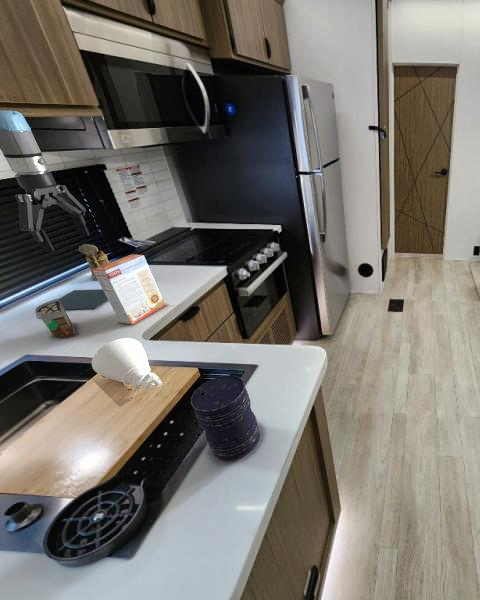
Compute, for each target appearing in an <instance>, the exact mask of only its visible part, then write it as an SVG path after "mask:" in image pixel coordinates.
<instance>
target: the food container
mask: <svg viewBox="0 0 480 600" xmlns="http://www.w3.org/2000/svg"><path fill="white" fill-rule="evenodd" d="M59 299H60V298H55V299H52V300H48V301H45V302H44V303H42V304H40V305H39V306H37V307H36V308H35V309H34V311H35V312H34V314H35V318H36V319H37V320H40V321H41V322H43V323H44V325H45V327H46V328H47V329H48V330H49V332H51V334H52V335H53V336H54V337H55V338H57V339H64V338H70V337H73V336H76V333H75V328H74V324H73V322H72V320H71V319H70V317H69V315H68V313H67V311H66V310H64V308H63V306H62V305H61V302H60V301H59Z"/></svg>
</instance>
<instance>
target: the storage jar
mask: <svg viewBox="0 0 480 600" xmlns="http://www.w3.org/2000/svg"><path fill="white" fill-rule="evenodd" d="M248 392H249V391H248V390H247V388H246V385H245V382H244V380H243V379H242V378H241V377H239V376H236V375H221V376H217V377H213V378H212V379H210V380H207V381H206V382H204V383H203V384H201V385H200V386H199V387H198V388H196V390H195V391H194V392H193V394H192V395H191V399H190V404H191V406H192V408H193V411H194V414H195V418H196V419H197V421H198V424H199V425H200V426H201V428H203V430H204V433H205V434H204V435H205V439H206V441H207V444H208V446H209V448H210V449H211V452H212V454H213V456H214V457H215V458H216V459H217V460H219V461H221V462H233V461H237V460H240V459H242V458H244V457H245V456H247V455H248V454H250V453H251V452H253V450H254V449H255V448H256V447H257V445H258V443H260V439H261V431H260V429H259V423H258V421H257V417H256V415H255V413H254V411H252V407H251V405H252V404H251V398H250V396H249V393H248Z"/></svg>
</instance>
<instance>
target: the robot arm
mask: <svg viewBox="0 0 480 600" xmlns="http://www.w3.org/2000/svg"><path fill="white" fill-rule="evenodd" d="M31 128H32V127H30V125H29V123H28V122H27V120H26V118H25V117H24V115H23V114H22V113H21V112H19V111H18V110H4V109H0V151H1V152H2V155H3V157H4V159H5V161H6V162H7V164H8V166H9V168H10V170H11V172H13V173H15V175H14V177H15V179H16V181H17V183H18V185H19V186H20V188H22V189H23V190H25V194H15V196H14V197H15V200H16V202H17V205H18V207H17V208H18V220H19V230H20V231H21V232H29V233H31V235H32V237H33V239H34V240H35V242H37V243H38V245H39V246H40V248H41V250H42V251H43V252H54V251H56V249H55V248H54V246H53V244H52V242H51V240H50V238H49V236H48V234H47V232H46V231H45V229H41V228H42V222H43V218H44V213H45V210H46V209H47V207H51V206H52V205H56V206H58V207H59V208H62V209H63V210H64V211H66V212H68V213H69V214H70V215H72V216H70V218H71V220H72V222H73V224H74V227H75V228H76V230H77V232H78V234H79V236H80V237H81V236H82V237H89V236H91V234H90V232H89V230H88V228H87V224H86V223H87V222H86V220H85V218H84V216H85V215H86V212H87V208H85V207H84V206H83V205H82V204H81V202H79V201H78V200H77V198H75V196H74V195H73V194H72V193H70V191H69V190H68V188H67V186H66V185H64V184H57V182H56V179H55V178H54V176H53V173H52V172H50V171H49V170H50V169H49V168H50V167H49V166H48V164H47V162H46V160H45V158H44V155H43V153H42V151H41V149H40V147H39V145H38V143H37V141H36V139H35V135H34V133H33V132H32V129H31Z"/></svg>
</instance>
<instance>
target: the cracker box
mask: <svg viewBox="0 0 480 600" xmlns="http://www.w3.org/2000/svg"><path fill="white" fill-rule="evenodd" d="M150 268H151V267H150V266H149V264H148V262H147V259H146V257H145V255H143V254H134V253H132V254H129V255H126V256H123V257H121V258H118V259H116V260H114V261H110V263H108V264H105V265H103V266H100V267H98V268H95V269H93V272H94V274H95V276H96V278H97V280H96V281H97V282H98V284H99V285H100V288H101V290H102V289H103V291H104V293H105V295H106V297H107V298H108V302H109V304H110V306H111V308H112V310H113V312H114V313H115V315H116V317H117V319H118V322H119V323H121V324H126V325H135V324H136V323H138V322H139V321H141V320H143V319H145V318H146V317H149V316H150V315H151V314H153V313H155V312H156V311H159V310H160V309H162V308H163V307H165V306H166V302H165V301H164V297H162V296H163V295H162V294H161V292H160V290H159V287H158V285H157V282H156V280H155V278H154V275H153V273H152V270H151V269H150Z"/></svg>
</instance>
